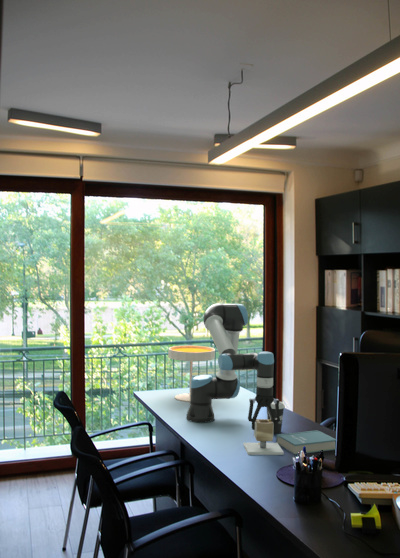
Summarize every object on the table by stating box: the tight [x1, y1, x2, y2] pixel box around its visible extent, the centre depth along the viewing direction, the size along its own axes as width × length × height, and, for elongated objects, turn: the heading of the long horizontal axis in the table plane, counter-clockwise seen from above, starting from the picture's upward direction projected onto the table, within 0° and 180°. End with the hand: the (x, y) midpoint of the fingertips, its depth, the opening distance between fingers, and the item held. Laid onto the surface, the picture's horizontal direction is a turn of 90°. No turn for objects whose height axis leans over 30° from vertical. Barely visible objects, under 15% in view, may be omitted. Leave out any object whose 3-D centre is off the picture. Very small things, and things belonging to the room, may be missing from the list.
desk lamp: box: [167, 345, 216, 403], centre depth 338 cm, size 30×30×31 cm
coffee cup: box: [266, 401, 286, 435], centre depth 271 cm, size 10×10×15 cm
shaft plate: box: [242, 441, 285, 456], centre depth 244 cm, size 16×13×6 cm
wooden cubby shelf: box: [255, 418, 274, 442], centre depth 244 cm, size 7×7×9 cm
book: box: [275, 430, 337, 456], centre depth 250 cm, size 23×16×5 cm
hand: (263, 436), depth 244 cm, fingers closed on wooden cubby shelf, 7 cm apart
